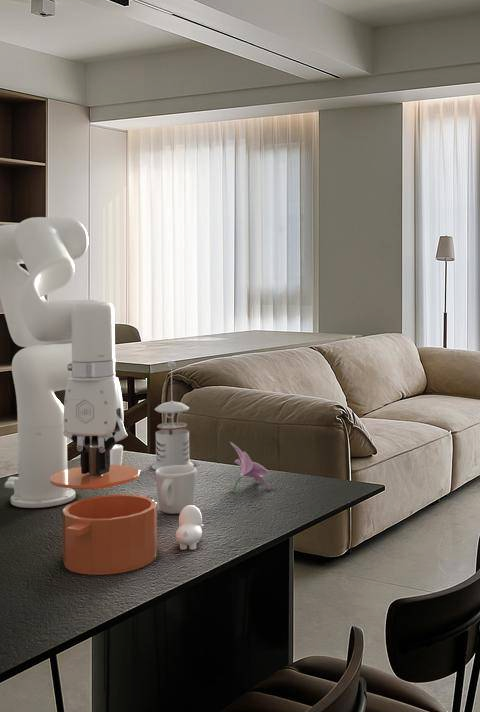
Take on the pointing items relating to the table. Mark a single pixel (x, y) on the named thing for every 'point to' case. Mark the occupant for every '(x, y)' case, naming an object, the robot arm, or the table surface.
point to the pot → (109, 534)
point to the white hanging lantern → (172, 436)
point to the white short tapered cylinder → (116, 455)
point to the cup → (175, 487)
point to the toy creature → (189, 527)
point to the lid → (94, 475)
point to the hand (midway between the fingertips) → (95, 471)
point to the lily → (250, 467)
